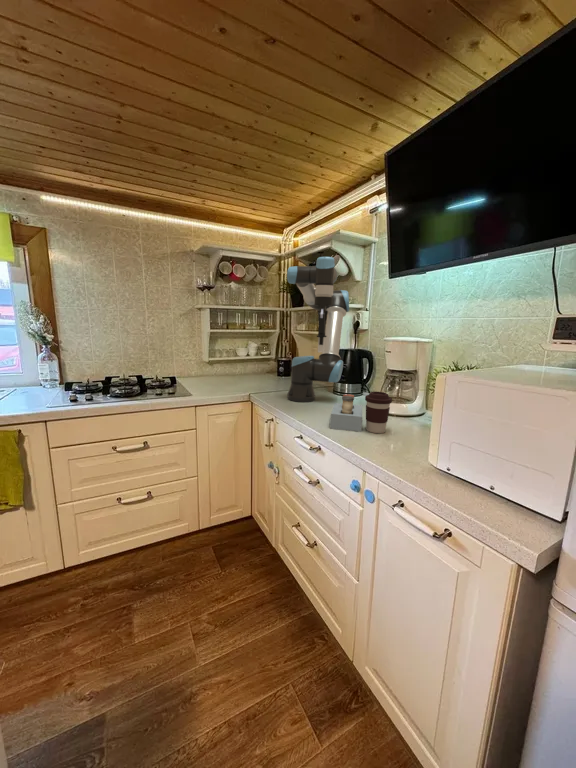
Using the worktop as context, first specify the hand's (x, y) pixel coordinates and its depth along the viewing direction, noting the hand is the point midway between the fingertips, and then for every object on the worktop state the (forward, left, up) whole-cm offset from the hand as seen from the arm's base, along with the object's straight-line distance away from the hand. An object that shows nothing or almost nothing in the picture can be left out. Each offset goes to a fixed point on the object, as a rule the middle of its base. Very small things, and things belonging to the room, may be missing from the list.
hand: (320, 352), depth 140 cm
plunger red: (+5, +13, -26) cm, 30 cm away
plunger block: (+9, +13, -28) cm, 33 cm away
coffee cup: (+15, +25, -28) cm, 41 cm away
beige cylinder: (+14, +13, -25) cm, 32 cm away
